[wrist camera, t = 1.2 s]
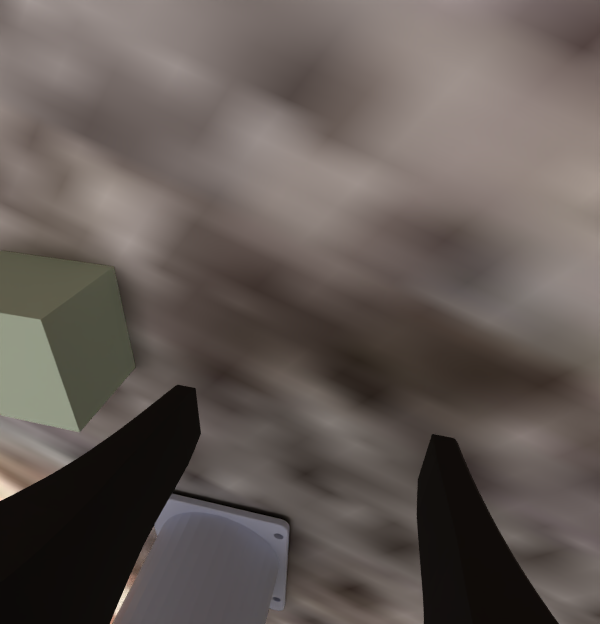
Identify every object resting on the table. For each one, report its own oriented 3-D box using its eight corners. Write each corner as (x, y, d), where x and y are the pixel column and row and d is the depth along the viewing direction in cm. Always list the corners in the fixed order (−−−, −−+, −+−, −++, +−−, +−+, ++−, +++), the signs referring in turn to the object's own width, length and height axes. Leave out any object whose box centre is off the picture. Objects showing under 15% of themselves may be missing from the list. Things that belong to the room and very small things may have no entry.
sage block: (137, 365, 19) (79, 432, 15) (40, 347, 20) (-35, 407, 16) (115, 265, 16) (40, 319, 13) (4, 249, 17) (-94, 296, 14)
